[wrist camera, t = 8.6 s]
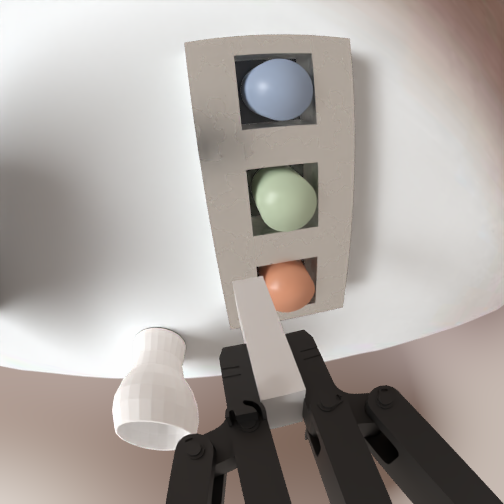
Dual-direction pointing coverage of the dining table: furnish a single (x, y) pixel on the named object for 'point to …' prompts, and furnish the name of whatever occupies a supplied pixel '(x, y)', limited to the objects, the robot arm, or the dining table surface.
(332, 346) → the dining table surface
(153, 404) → the cup
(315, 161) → the panel
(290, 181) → the button sage
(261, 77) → the button slate
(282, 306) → the button terracotta
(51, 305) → the dining table surface
